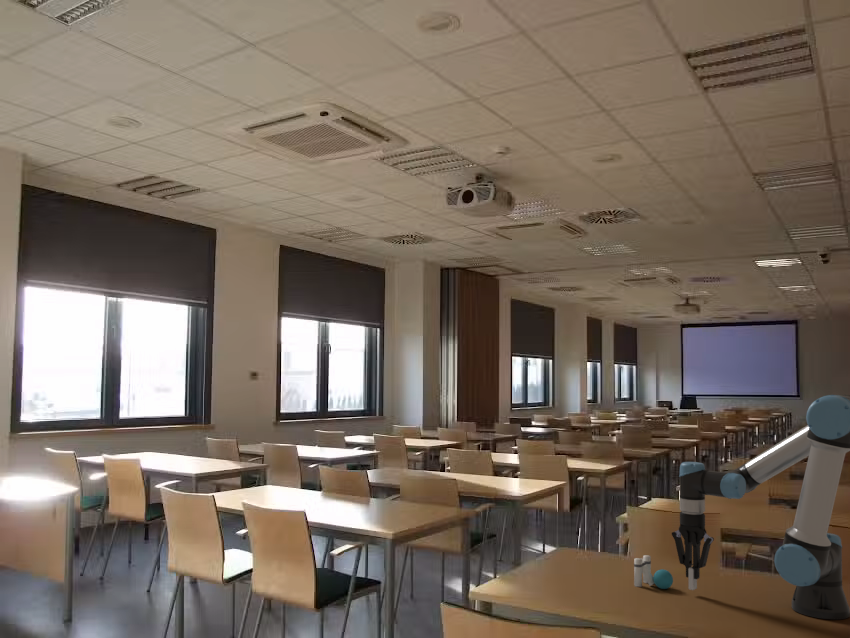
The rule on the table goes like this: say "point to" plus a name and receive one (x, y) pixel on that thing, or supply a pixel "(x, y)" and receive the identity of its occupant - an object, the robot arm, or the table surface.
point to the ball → (663, 579)
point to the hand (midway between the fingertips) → (692, 588)
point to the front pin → (647, 574)
